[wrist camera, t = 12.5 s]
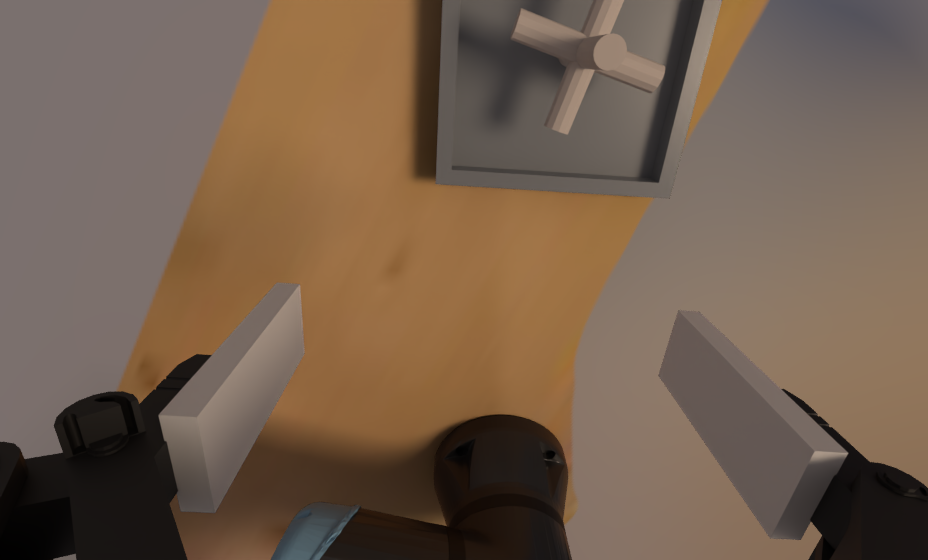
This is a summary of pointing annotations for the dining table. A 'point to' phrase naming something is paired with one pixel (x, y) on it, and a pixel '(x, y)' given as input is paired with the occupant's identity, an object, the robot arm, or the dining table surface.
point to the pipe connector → (585, 57)
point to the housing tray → (535, 86)
